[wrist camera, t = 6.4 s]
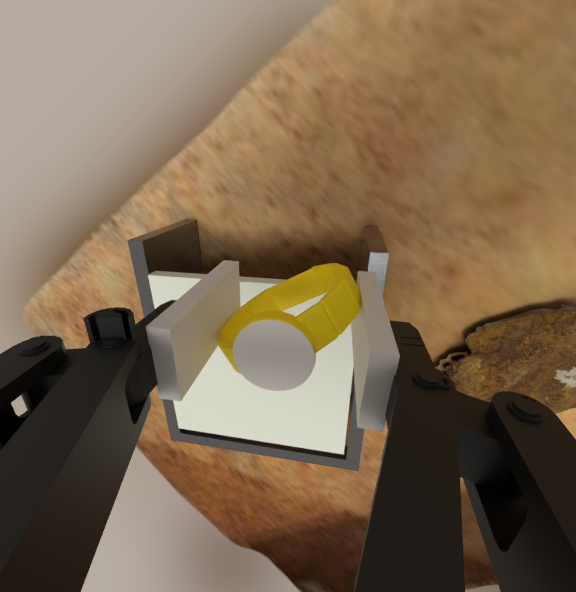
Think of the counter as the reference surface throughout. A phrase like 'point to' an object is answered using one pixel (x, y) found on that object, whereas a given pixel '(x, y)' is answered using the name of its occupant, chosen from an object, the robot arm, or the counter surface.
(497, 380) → the decorative rock
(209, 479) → the counter surface
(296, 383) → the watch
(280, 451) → the stand
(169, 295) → the trapdoor
